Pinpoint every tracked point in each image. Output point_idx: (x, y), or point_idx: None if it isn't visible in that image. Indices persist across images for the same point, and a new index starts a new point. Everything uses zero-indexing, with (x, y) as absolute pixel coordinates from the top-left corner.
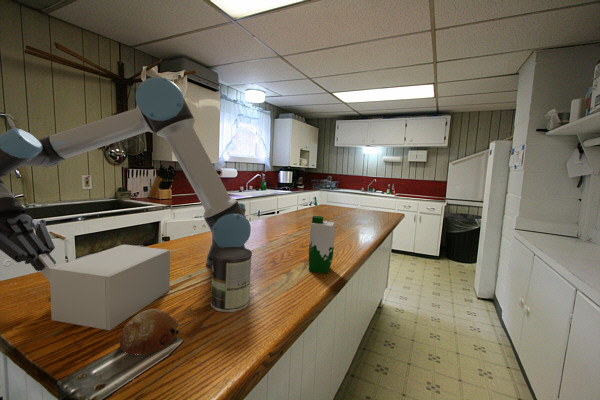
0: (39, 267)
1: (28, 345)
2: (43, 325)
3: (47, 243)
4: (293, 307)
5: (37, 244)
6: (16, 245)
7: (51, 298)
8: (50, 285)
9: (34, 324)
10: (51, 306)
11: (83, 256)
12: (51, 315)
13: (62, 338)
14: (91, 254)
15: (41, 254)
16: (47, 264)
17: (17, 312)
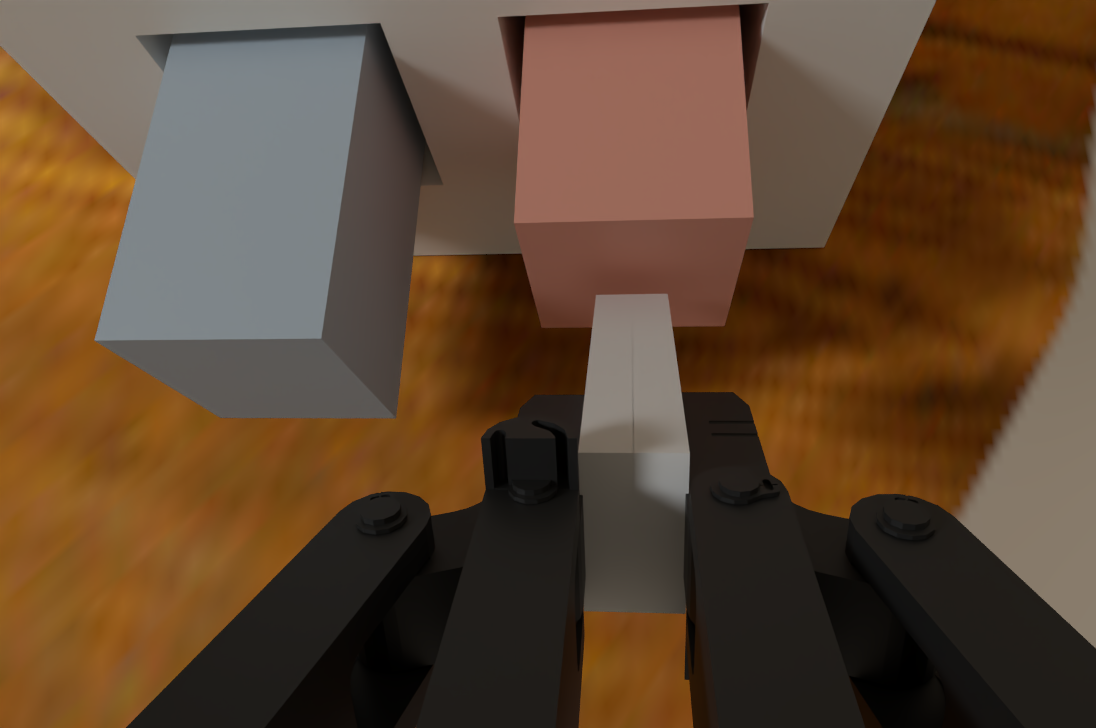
0: (740, 410)
1: (1057, 117)
2: (888, 234)
3: (369, 598)
4: None
5: (566, 621)
6: (1022, 709)
7: (868, 141)
8: (906, 61)
9: (902, 294)
10: (850, 185)
11: (211, 336)
12: (831, 230)
13: (936, 31)
14: (116, 318)
15: (582, 547)
16: (668, 358)
17: None
